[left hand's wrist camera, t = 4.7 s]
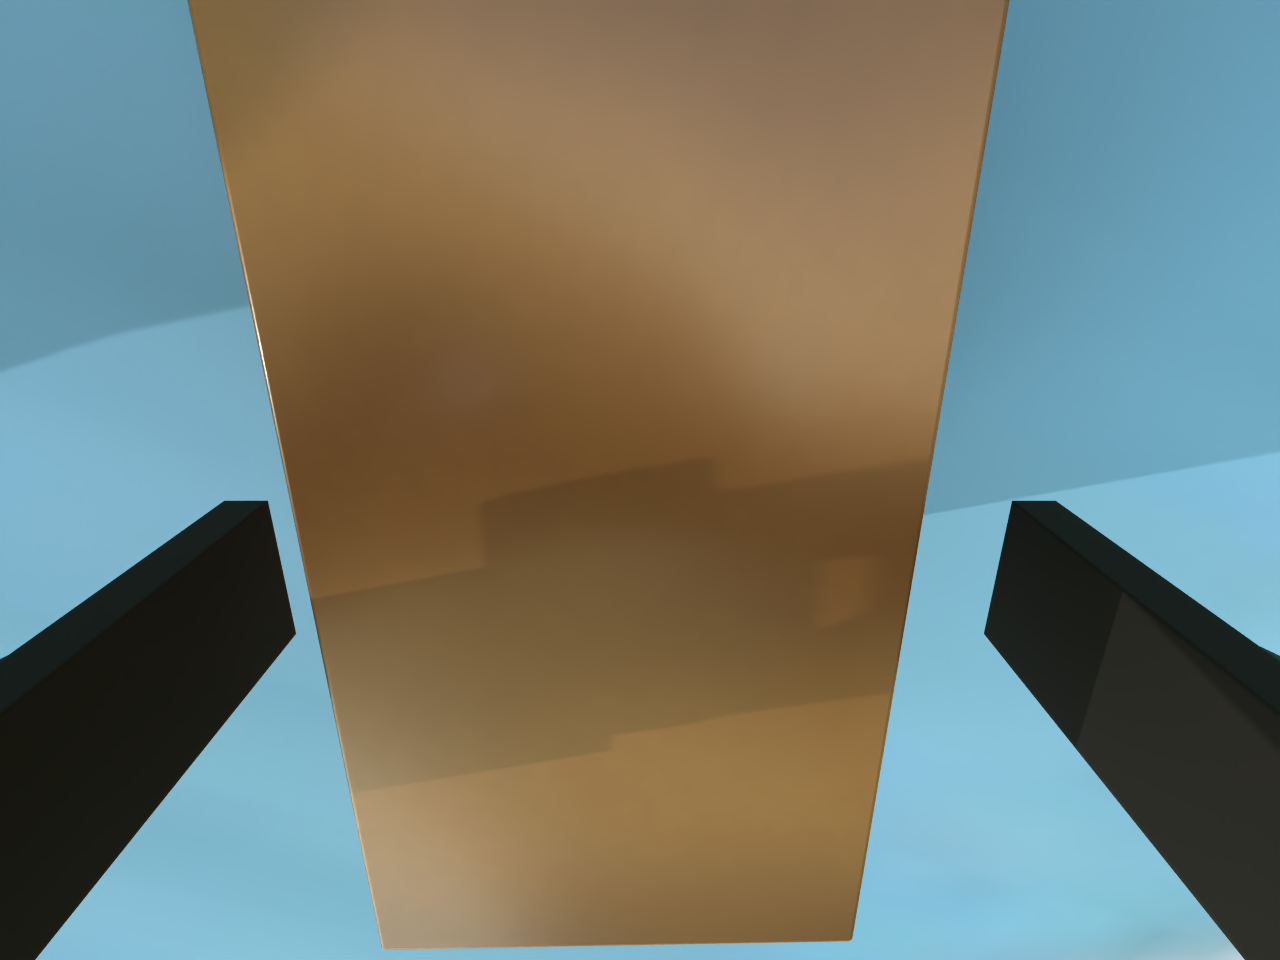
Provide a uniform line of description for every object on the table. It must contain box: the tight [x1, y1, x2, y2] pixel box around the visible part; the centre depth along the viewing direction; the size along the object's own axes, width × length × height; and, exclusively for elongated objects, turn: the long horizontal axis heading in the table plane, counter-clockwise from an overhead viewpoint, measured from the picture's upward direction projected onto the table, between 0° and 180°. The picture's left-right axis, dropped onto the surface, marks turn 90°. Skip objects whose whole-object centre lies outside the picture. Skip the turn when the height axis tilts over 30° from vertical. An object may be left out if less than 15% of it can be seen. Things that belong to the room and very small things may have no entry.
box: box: [188, 0, 1009, 950], centre depth 11 cm, size 25×7×12 cm, turn 0°
